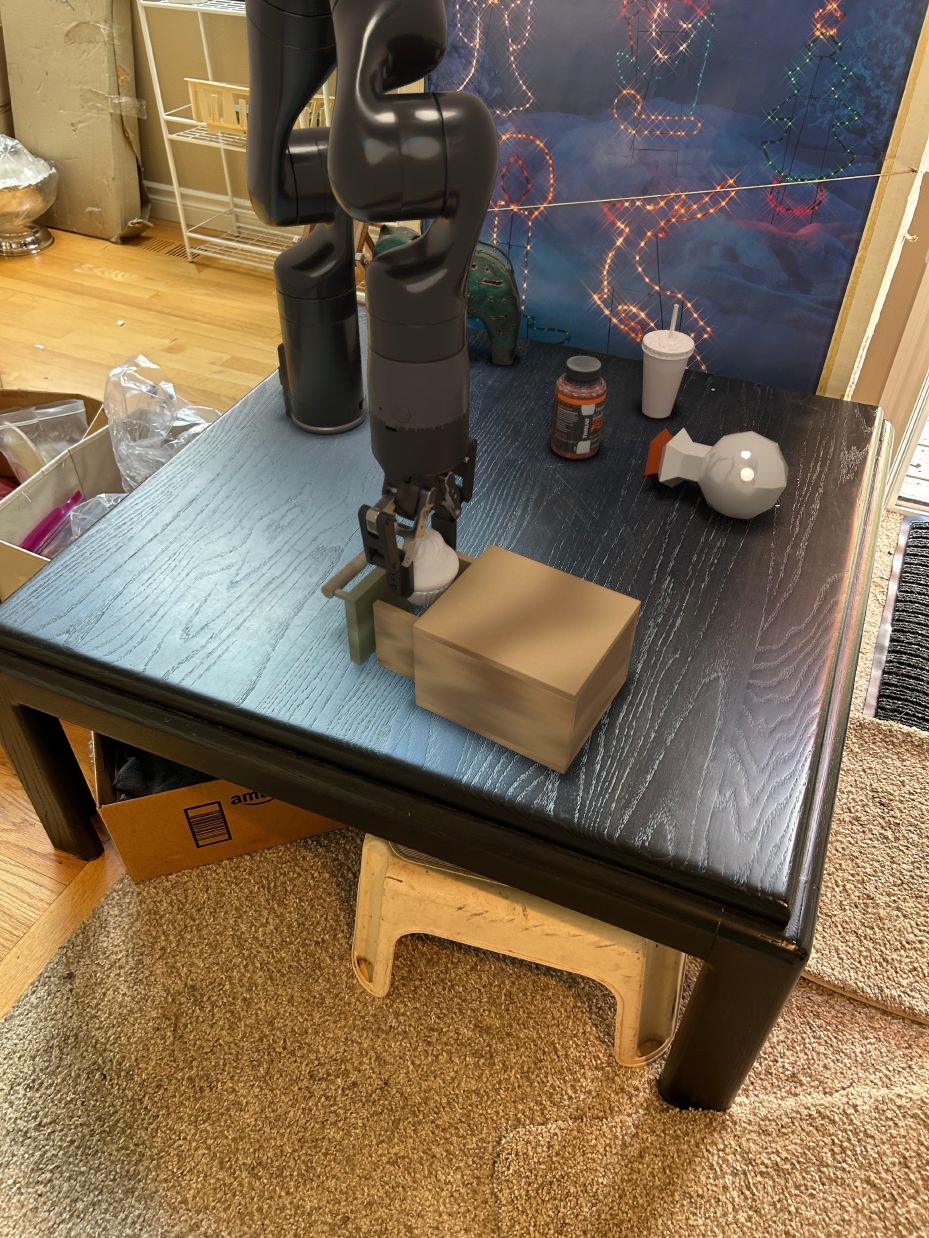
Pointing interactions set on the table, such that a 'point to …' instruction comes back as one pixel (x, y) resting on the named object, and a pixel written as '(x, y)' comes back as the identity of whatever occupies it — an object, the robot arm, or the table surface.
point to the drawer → (379, 616)
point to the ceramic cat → (479, 291)
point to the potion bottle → (723, 470)
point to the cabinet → (524, 655)
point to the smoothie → (664, 368)
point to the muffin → (432, 568)
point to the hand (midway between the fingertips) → (423, 571)
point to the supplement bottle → (578, 409)
